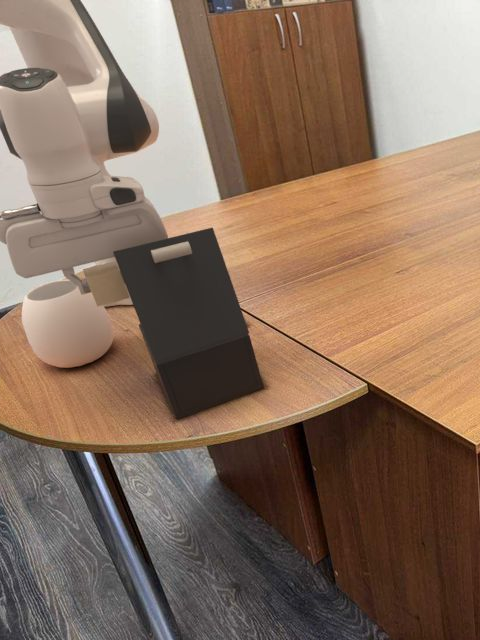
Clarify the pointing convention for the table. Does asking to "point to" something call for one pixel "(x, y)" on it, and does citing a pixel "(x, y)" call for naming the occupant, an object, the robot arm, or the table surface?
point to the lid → (181, 293)
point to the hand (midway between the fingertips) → (108, 286)
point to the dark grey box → (208, 375)
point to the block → (106, 283)
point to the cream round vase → (65, 324)
